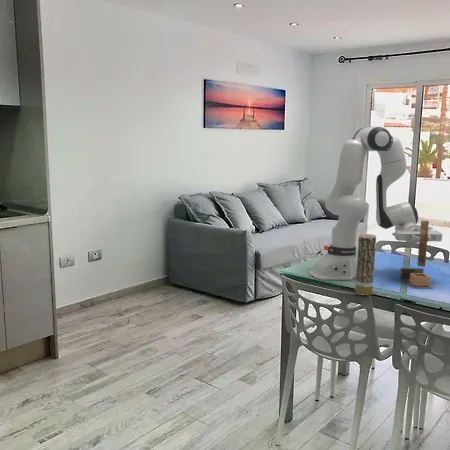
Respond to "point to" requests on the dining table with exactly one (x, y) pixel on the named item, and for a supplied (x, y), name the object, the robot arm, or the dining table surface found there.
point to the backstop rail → (406, 276)
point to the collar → (419, 279)
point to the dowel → (423, 243)
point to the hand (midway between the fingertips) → (424, 239)
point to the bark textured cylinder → (365, 264)
